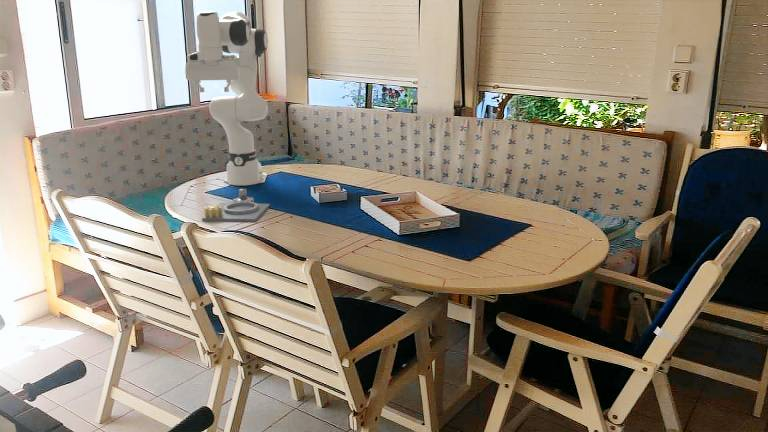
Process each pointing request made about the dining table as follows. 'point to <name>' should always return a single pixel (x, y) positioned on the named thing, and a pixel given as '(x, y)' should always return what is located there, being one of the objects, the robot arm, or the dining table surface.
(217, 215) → the carrier board
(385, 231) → the dining table surface
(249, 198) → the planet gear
